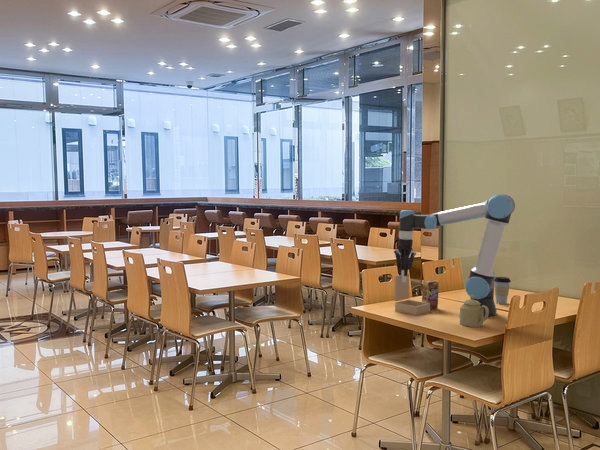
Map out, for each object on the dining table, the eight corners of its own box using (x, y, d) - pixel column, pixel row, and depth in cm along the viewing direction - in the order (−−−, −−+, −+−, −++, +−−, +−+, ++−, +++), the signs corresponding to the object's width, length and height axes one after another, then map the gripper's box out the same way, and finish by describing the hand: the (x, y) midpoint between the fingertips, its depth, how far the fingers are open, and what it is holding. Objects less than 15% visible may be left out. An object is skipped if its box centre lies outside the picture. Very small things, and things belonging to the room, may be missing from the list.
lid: (408, 274, 314) (408, 274, 314) (395, 276, 304) (394, 276, 305) (408, 298, 314) (408, 298, 314) (395, 301, 305) (394, 301, 305)
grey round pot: (493, 325, 276) (495, 294, 275) (487, 329, 267) (488, 298, 266) (463, 320, 285) (465, 291, 284) (456, 324, 276) (457, 294, 275)
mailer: (429, 311, 305) (430, 303, 305) (416, 315, 296) (416, 306, 295) (408, 307, 314) (408, 299, 314) (394, 310, 305) (395, 302, 305)
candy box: (426, 310, 309) (427, 282, 308) (421, 308, 313) (422, 281, 312) (438, 308, 314) (439, 281, 313) (432, 307, 318) (433, 280, 317)
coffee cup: (492, 303, 331) (493, 278, 330) (493, 301, 340) (494, 276, 339) (509, 305, 327) (510, 279, 326) (510, 302, 336) (511, 277, 335)
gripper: (419, 239, 305) (417, 282, 307) (399, 237, 314) (397, 279, 316) (411, 240, 300) (409, 284, 301) (391, 237, 309) (389, 280, 310)
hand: (403, 281), depth 308 cm, fingers closed
